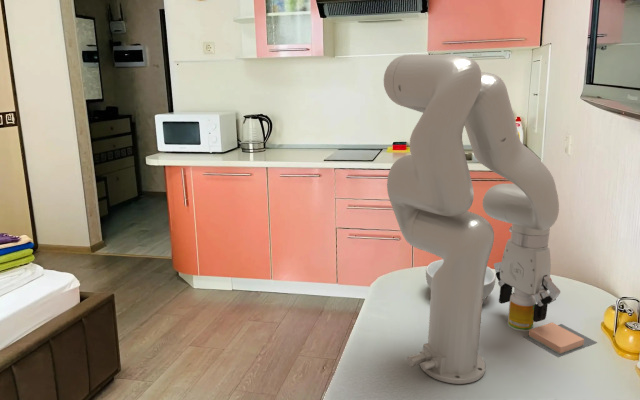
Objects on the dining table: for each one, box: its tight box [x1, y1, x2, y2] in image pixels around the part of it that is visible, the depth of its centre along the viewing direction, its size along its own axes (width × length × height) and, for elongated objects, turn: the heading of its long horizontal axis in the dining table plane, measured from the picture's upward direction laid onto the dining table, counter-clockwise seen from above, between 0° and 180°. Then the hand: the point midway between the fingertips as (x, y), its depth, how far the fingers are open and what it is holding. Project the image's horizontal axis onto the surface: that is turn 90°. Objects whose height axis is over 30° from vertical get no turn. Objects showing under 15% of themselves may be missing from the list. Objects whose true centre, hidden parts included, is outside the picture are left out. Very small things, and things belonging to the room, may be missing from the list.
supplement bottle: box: [507, 287, 537, 332], centre depth 118 cm, size 5×5×10 cm
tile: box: [528, 321, 584, 354], centre depth 112 cm, size 2×8×7 cm
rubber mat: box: [522, 323, 598, 358], centre depth 113 cm, size 12×9×1 cm
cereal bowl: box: [425, 258, 497, 300], centre depth 133 cm, size 17×17×7 cm
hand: (521, 310), depth 118 cm, fingers open, 9 cm apart
